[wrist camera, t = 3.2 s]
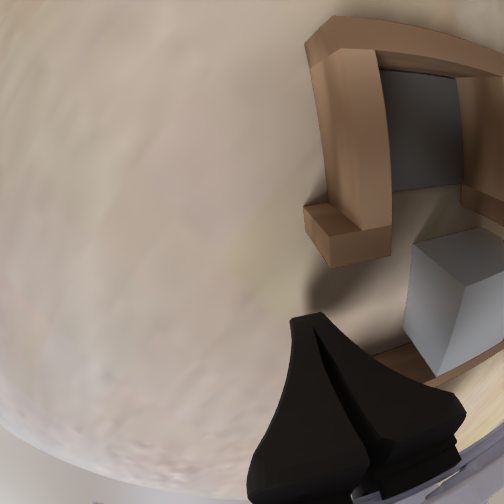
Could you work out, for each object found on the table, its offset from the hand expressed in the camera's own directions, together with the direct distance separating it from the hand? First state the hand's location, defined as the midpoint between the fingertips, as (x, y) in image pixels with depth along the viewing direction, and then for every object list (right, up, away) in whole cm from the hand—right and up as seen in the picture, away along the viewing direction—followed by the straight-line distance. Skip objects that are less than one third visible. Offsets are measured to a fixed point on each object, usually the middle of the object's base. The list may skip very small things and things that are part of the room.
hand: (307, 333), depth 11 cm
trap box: (+13, +6, 0) cm, 14 cm away
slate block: (+8, +2, +1) cm, 8 cm away
